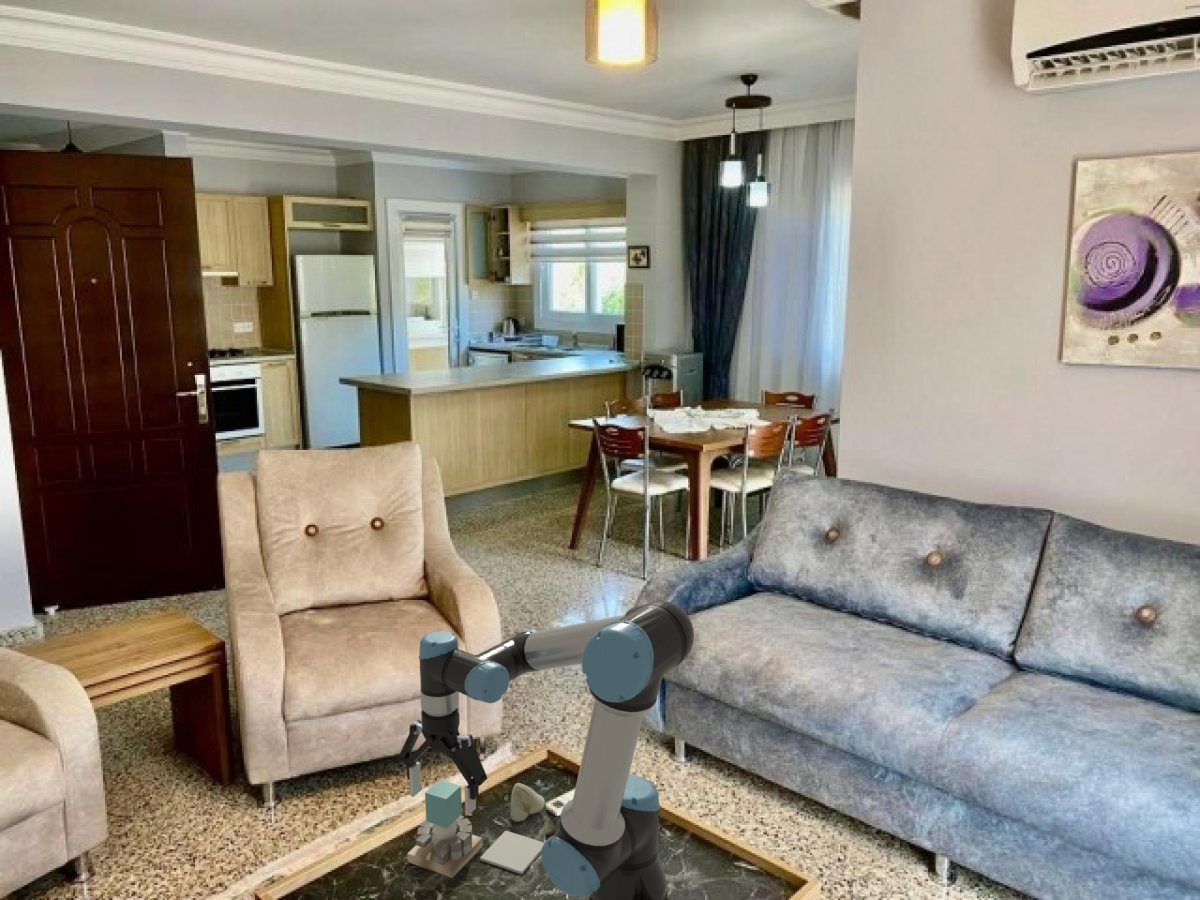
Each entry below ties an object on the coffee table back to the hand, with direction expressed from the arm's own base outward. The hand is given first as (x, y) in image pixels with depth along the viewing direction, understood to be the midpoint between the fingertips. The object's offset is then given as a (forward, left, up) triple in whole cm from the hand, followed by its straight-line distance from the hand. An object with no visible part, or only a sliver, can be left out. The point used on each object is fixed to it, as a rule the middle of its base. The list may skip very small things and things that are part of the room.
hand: (442, 802), depth 187 cm
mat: (-13, -6, -12) cm, 19 cm away
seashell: (-9, -20, -12) cm, 25 cm away
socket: (0, 0, -12) cm, 12 cm away
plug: (0, 0, -10) cm, 10 cm away
